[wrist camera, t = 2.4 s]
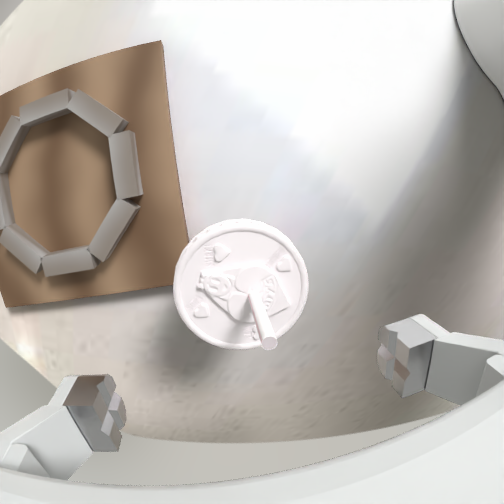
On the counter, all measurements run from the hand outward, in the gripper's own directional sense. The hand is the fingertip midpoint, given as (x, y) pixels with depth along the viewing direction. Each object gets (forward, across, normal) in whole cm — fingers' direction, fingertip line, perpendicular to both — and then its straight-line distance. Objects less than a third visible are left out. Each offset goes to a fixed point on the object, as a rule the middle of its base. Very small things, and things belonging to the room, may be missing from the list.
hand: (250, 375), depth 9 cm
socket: (+16, +11, -7) cm, 21 cm away
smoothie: (+16, -1, 0) cm, 16 cm away
